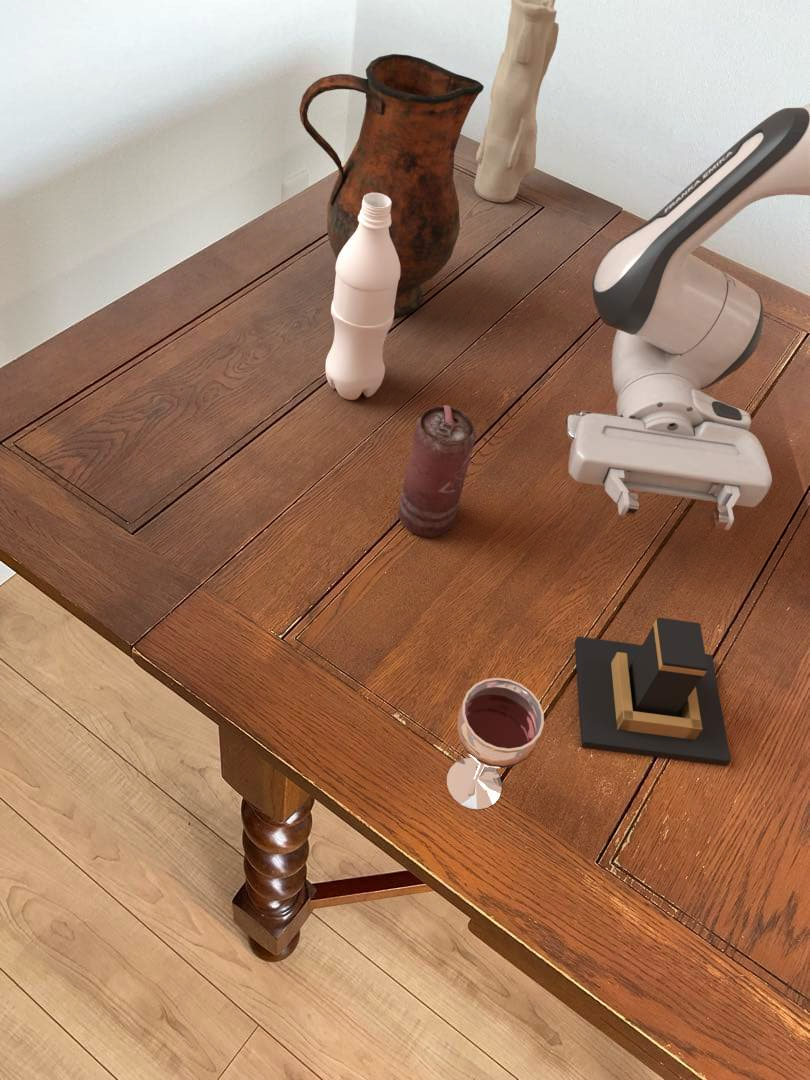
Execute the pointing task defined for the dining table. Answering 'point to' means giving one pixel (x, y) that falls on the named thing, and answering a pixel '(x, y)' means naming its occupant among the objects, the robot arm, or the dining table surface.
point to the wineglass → (493, 738)
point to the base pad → (629, 731)
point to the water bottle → (363, 302)
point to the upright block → (667, 667)
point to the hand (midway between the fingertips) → (676, 518)
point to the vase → (516, 101)
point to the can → (436, 470)
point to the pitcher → (402, 162)
